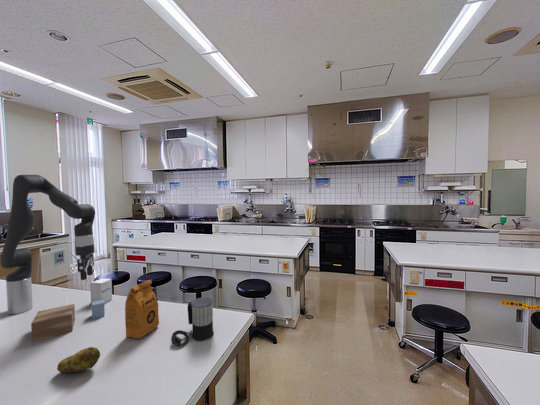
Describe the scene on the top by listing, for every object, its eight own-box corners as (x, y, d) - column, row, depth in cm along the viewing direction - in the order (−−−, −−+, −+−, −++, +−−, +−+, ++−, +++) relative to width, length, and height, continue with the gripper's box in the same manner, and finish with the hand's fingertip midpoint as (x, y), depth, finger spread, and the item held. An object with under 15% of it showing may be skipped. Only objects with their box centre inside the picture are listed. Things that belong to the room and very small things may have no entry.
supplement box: (101, 305, 132) (100, 283, 131) (90, 304, 133) (89, 282, 133) (112, 299, 139) (112, 278, 139) (102, 299, 140) (101, 278, 140)
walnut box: (38, 328, 110) (38, 311, 110) (74, 319, 117) (74, 303, 117) (32, 342, 99) (31, 323, 99) (72, 331, 107) (71, 314, 107)
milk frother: (218, 331, 105) (217, 298, 105) (196, 353, 90) (195, 315, 90) (191, 325, 110) (190, 294, 110) (166, 346, 95) (165, 310, 95)
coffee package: (162, 326, 110) (161, 279, 109) (139, 342, 98) (137, 290, 97) (146, 322, 113) (145, 277, 112) (122, 337, 101) (120, 287, 101)
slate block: (92, 315, 121) (92, 301, 121) (104, 312, 124) (104, 299, 124) (92, 319, 117) (91, 305, 117) (104, 316, 120) (104, 302, 120)
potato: (80, 359, 88) (79, 338, 88) (105, 367, 84) (104, 345, 84) (53, 375, 80) (52, 352, 80) (79, 384, 76) (78, 360, 76)
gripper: (80, 243, 122) (83, 274, 122) (69, 247, 109) (71, 282, 109) (98, 241, 125) (100, 272, 125) (88, 245, 111) (91, 279, 111)
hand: (87, 277), depth 117 cm, fingers open, 8 cm apart
